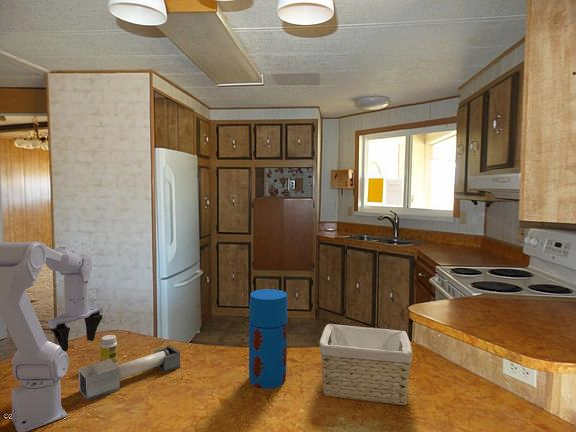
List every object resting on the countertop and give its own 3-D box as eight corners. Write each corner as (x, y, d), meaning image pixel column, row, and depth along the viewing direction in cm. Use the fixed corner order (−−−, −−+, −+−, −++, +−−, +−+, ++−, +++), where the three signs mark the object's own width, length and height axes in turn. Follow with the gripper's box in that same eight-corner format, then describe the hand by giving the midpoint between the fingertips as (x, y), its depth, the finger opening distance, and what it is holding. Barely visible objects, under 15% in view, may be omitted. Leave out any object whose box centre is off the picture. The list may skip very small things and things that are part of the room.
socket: (164, 372, 109) (164, 356, 108) (154, 365, 113) (154, 349, 113) (180, 367, 112) (180, 351, 112) (169, 359, 117) (169, 344, 117)
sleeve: (87, 401, 94) (87, 377, 93) (79, 390, 98) (78, 368, 98) (119, 389, 99) (119, 367, 99) (110, 380, 104) (109, 359, 104)
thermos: (241, 382, 104) (241, 296, 102) (261, 366, 113) (262, 287, 112) (274, 393, 99) (275, 302, 97) (292, 375, 108) (294, 292, 107)
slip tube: (115, 384, 100) (115, 369, 100) (110, 378, 103) (109, 364, 102) (170, 364, 111) (170, 351, 111) (163, 360, 114) (163, 347, 114)
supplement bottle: (110, 368, 111) (110, 340, 111) (97, 366, 112) (96, 339, 112) (120, 360, 116) (120, 334, 115) (107, 359, 117) (107, 333, 116)
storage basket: (316, 397, 97) (318, 343, 96) (324, 368, 113) (325, 322, 112) (411, 411, 92) (414, 353, 91) (405, 378, 108) (407, 329, 107)
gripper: (59, 306, 93) (60, 358, 94) (109, 293, 106) (110, 338, 107) (42, 302, 97) (44, 352, 98) (93, 289, 109) (94, 334, 110)
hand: (77, 345), depth 103 cm, fingers open, 7 cm apart
